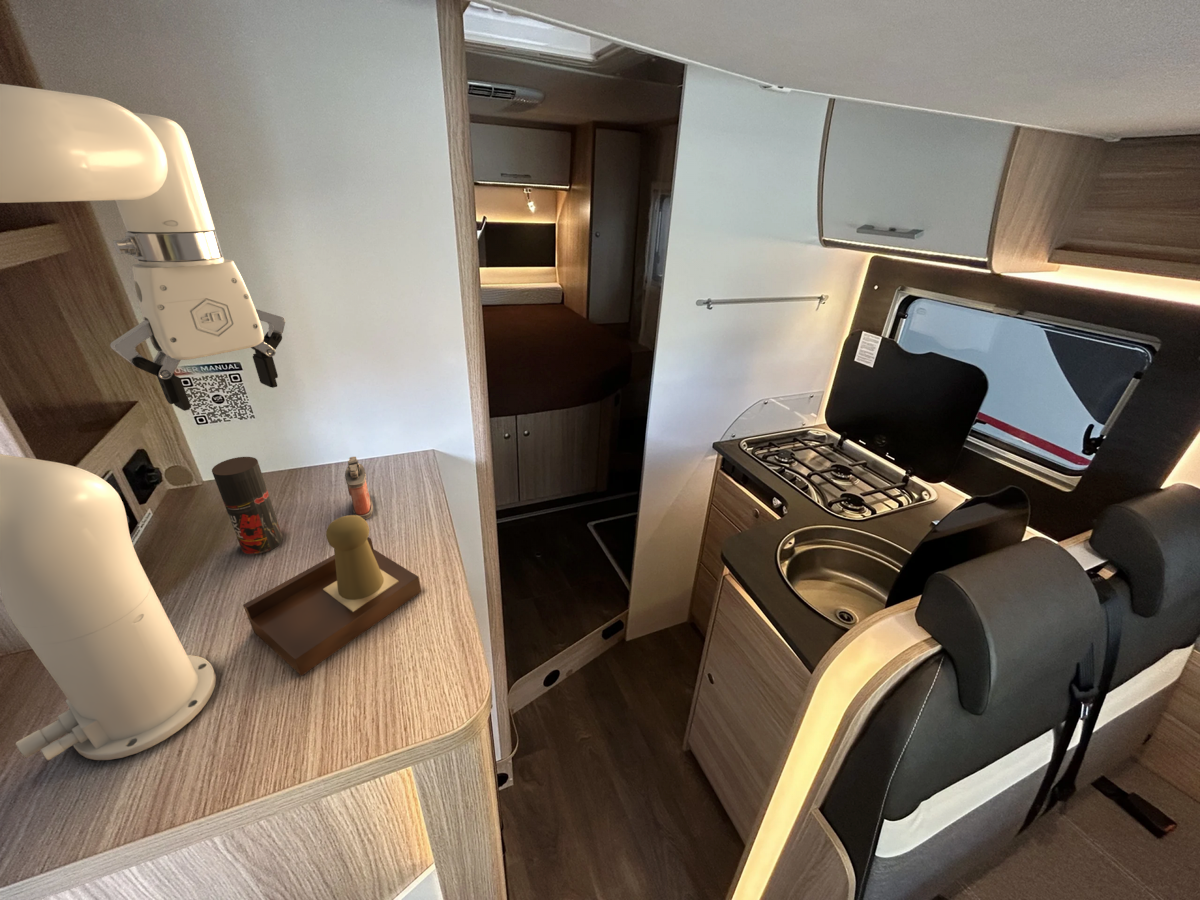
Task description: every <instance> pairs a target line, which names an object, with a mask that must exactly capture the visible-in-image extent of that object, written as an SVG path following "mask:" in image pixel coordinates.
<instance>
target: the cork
mask: <svg viewBox="0 0 1200 900" xmlns="http://www.w3.org/2000/svg"><path fill="white" fill-rule="evenodd" d="M369 535H370V526H369V524H368V522H367V519H363V518H362V517H360V516H357V515H354V514H350V515H344V516H340V517H337V518H336V519H334V520H332V521H331V522H330V524H328V526H327V528H326V531H325V537H326V540H327V543H328V544H329V546H330V547H331V548H333V551H334V555H335V564H336V575H337V586H338V593H339V595H340V596H341V597H342V598H345V599H348V600H357V599H362V598H365V597H368V596H370V595H372V594H374V593H375V592H376V591H378V590H379V589H380V588H381V586H382V584H383V581H384V578H383V576H382V573H381V571H380V568H379V566H378V564H377V561H376V559H375V557H374V554H373V552H372V550H371V547H370V545H369V542H368V540H367V538H368V537H369Z"/></svg>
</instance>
